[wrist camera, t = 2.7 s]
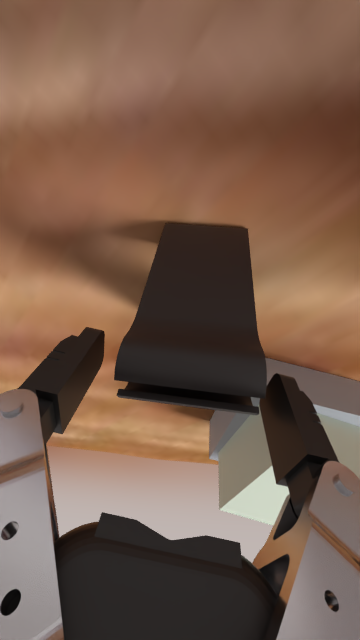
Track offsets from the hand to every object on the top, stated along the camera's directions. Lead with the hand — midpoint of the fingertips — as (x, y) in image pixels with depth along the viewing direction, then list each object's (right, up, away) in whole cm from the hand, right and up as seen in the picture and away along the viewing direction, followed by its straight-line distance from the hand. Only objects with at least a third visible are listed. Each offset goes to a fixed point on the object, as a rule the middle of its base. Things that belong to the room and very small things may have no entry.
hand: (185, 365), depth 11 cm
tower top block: (+10, -10, +11) cm, 18 cm away
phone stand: (+1, +5, +9) cm, 11 cm away
